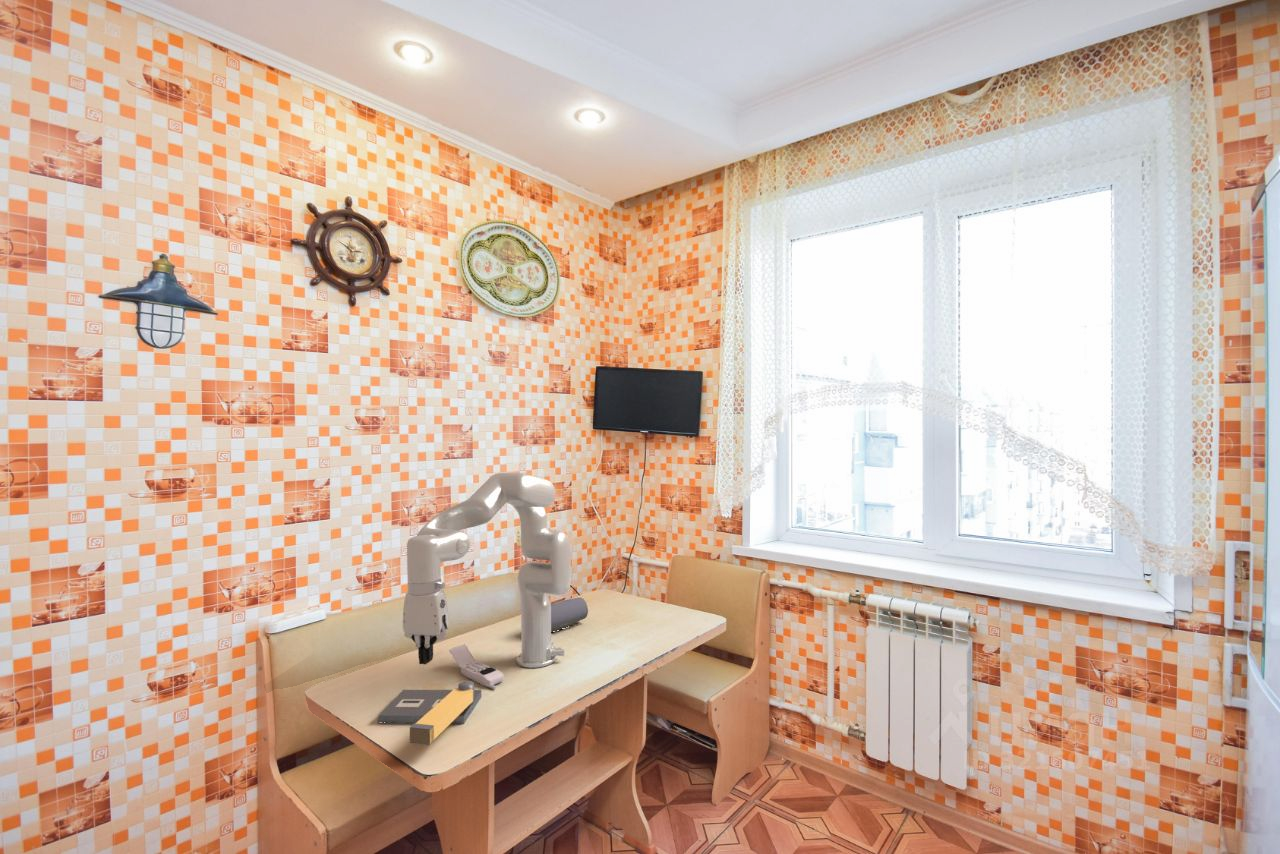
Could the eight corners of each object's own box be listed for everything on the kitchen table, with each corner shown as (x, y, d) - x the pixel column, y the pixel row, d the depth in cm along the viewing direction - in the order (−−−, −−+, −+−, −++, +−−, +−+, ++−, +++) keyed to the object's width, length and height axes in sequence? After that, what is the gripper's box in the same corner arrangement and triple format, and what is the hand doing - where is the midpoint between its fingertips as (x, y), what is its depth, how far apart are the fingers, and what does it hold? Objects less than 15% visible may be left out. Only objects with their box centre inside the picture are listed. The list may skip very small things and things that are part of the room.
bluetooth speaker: (573, 619, 216) (573, 593, 216) (589, 624, 209) (589, 598, 210) (525, 634, 200) (525, 607, 200) (540, 641, 193) (540, 612, 193)
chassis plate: (481, 697, 152) (481, 688, 152) (463, 723, 138) (463, 714, 138) (403, 696, 152) (403, 688, 152) (378, 723, 138) (378, 714, 138)
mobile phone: (464, 643, 176) (509, 664, 160) (464, 661, 176) (509, 684, 160) (446, 649, 172) (491, 671, 155) (447, 668, 172) (491, 692, 155)
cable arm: (461, 699, 146) (461, 680, 146) (478, 700, 145) (478, 681, 145) (409, 747, 124) (409, 725, 124) (429, 749, 123) (429, 727, 123)
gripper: (460, 583, 135) (462, 657, 135) (406, 581, 138) (408, 653, 138) (443, 593, 127) (445, 671, 127) (387, 590, 130) (388, 666, 130)
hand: (426, 661), depth 133 cm, fingers closed
